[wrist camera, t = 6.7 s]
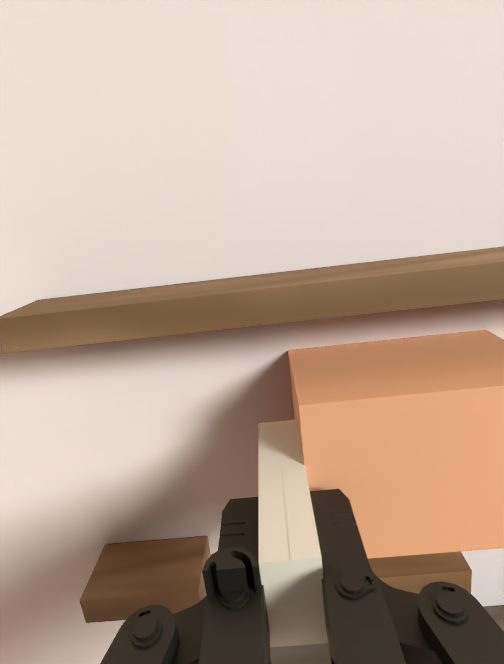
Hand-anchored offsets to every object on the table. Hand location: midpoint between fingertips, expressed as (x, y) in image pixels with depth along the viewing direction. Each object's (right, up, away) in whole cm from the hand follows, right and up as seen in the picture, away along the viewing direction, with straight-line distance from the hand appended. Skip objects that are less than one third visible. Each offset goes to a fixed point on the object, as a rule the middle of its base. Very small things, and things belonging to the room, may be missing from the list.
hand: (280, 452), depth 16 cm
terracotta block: (+5, +2, +2) cm, 5 cm away
